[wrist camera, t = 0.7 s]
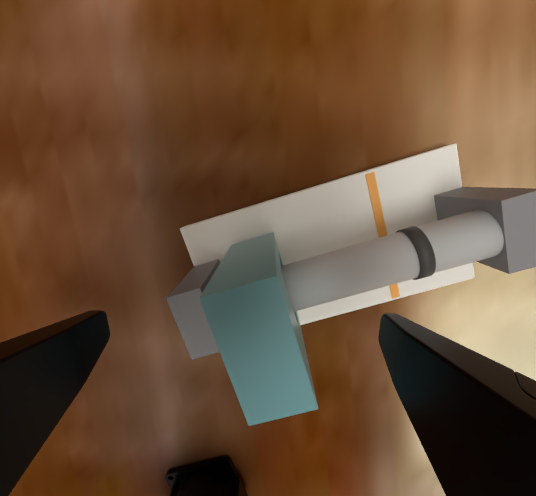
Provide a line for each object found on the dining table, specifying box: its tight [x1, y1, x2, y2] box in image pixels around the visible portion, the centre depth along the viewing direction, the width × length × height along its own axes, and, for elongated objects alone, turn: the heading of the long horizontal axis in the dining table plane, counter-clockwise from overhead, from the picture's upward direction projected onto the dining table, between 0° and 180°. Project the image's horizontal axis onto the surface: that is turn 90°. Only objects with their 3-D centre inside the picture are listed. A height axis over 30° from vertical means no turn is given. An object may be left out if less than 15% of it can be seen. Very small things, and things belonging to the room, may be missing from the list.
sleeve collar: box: [199, 232, 318, 426], centre depth 15 cm, size 3×6×9 cm, turn 17°
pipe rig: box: [166, 144, 536, 360], centre depth 18 cm, size 20×10×7 cm, turn 107°
